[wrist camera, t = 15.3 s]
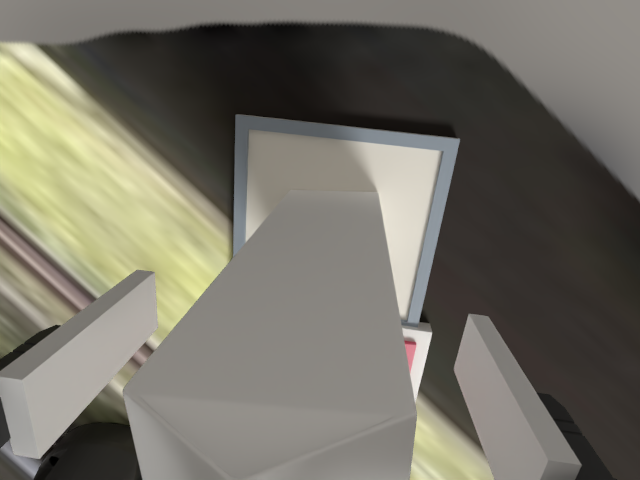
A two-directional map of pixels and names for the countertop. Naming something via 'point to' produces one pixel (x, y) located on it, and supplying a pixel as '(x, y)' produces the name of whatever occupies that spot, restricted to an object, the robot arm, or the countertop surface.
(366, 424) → the milk
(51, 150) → the countertop surface
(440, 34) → the countertop surface
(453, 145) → the marked square
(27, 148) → the countertop surface
